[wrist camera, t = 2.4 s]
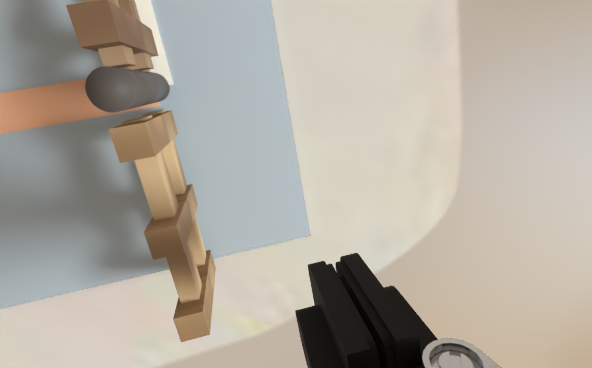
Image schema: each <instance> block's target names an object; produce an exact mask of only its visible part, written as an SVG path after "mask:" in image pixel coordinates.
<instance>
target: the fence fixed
mask: <svg viewBox="0 0 592 368" xmlns="http://www.w3.org/2000/svg"><path fill="white" fill-rule="evenodd" d="M82 2H83V3H77V4H70V5H66V7H67V10H68V13H69V16H70V18H71V21H72V24H73V27H74V30H75V33H76V36H77V39H78V42H79V45H80V47H81V48H86V49H90V50H94V51H98V52H99V54H100V57H101V60H102V63H103V66H104V67H99V68H96V69H94V70H93V71H92V72H91V73H90V74H89V75H88V77H87V79H86V83H85V90H86V94H87V96H88V98H89V100H90V101H91V102H92V104H93V105H95V106H96V107H97V108H99V109H100V110H103V111H105V112H111V113H115V112H120V111H124V110H128V109H132V108H136V107H140V106H144V105H148V104H152V103H156V102H160V101H163V100H164V99H166V98H167V96H168V94H169V91H170V87H169V84H168V82H167V80H166V79H165V78H164V77H163V76H162V75H160V74H158V73H153V72H145V71H142V70H148V69H154V67H153V63H152V60H151V57H154V56H159V55H158V52H157V48H156V44H155V41H154V37H153V34H152V30H151V29H150V28H149V27H147V26H146V25H144V24H143V23H142V22H141V21H140V17H139V14H138V10H137V7H136V3H135V0H82ZM124 67H128V69H123V68H124Z"/></svg>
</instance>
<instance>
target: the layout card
mask: <svg viewBox="0 0 592 368" xmlns="http://www.w3.org/2000/svg"><path fill="white" fill-rule="evenodd" d="M77 3H83V2H82V0H0V309H3V308H8V307H12V306H16V305H20V304H24V303H29V302H33V301H37V300H41V299H45V298H50V297H54V296H58V295H62V294H66V293H71V292H75V291H79V290H83V289H87V288H92V287H96V286H100V285H104V284H109V283H113V282H117V281H121V280H125V279H130V278H134V277H138V276H142V275H146V274H151V273H155V272H159V271H163V270H167V269H170V268H169V265H168V262H167V259H166V257H164V258H160V259H156V260H153V258H152V255H151V252H150V249H149V247H148V244H147V241H146V238H145V235H144V231H145V229H146V227H147V226H148V224H149V222H150V221H151V219H152V217H153V216H152V213H151V210H150V207H149V204H148V201H147V198H146V195H145V192H144V189H143V186H142V183H141V179H140V176H139V173H138V170H137V167H136V164H135V161H129V162H123V163H120V162H119V159H118V156H117V153H116V150H115V147H114V144H113V141H112V138H111V135H110V132H109V130H108V129H110V128H113V127H116V126H118V125H121V124H122V122H124V121H127V120H129V119H133V118H139V117H142V116H143V115H144V114H146V113H150V112H155V111H161V110H166V111H171V110H172V113H173V116H174V120H175V124H176V127H177V131H178V135H177V136H176V137H175V138H174V141H175V144H176V148H177V151H178V155H179V159H180V162H181V166H182V169H183V173H184V176H185V180H186V183H187V185H190V184H192V185H193V188H194V192H195V196H196V199H197V203H198V206H197V210H196V214H195V215H196V219H197V222H198V226H199V229H200V233H201V236H202V240H203V243H204V247H205V250H206V251H207V250H211V253H212V257H213V259H214V258H218V257H222V256H226V255H231V254H235V253H239V252H243V251H247V250H252V249H256V248H260V247H264V246H269V245H273V244H277V243H281V242H285V241H290V240H294V239H298V238H302V237H306V236H311V235H310V229H309V223H308V217H307V211H306V206H305V200H304V194H303V188H302V182H301V176H300V170H299V164H298V158H297V152H296V146H295V140H294V135H293V129H292V123H291V117H290V111H289V105H288V99H287V93H286V87H285V81H284V75H283V69H282V63H281V58H280V52H279V46H278V40H277V34H276V28H275V22H274V16H273V10H272V4H271V0H135V3H136V7H137V10H138V14H139V17H140V21H141V22H142V23H143V24H144V25H146V26H147V27H149V28H150V29H151V30H152V34H153V37H154V41H155V44H156V48H157V52H158V55H159V56H154V57H151V60H152V63H153V67H154V69H148V70H142V71H145V72H153V73H158V74H160V75H162V76H163V77H164V78H165V79H166V80H167V82H168V84H169V87H170V91H169V94H168V96H167V98H166V99H164V100H163V101H160V102H156V103H152V104H148V105H144V106H140V107H136V108H132V109H128V110H124V111H120V112H115V113H111V112H105V111H103V110H100V109H99V108H97V107H96V106H95V105H93V104H92V102H91V101H90V100H89V98H88V96H87V94H86V90H85V83H86V79H87V77H88V75H89V74H90V73H91V72H92V71H93V70H94V69H96V68H99V67H104V66H103V63H102V60H101V57H100V54H99V52H98V51H94V50H90V49H86V48H81V47H80V45H79V42H78V39H77V36H76V33H75V30H74V27H73V24H72V21H71V18H70V16H69V13H68V10H67V7H66V5H70V4H77ZM123 69H128V67H124V68H123Z"/></svg>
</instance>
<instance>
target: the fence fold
mask: <svg viewBox="0 0 592 368" xmlns="http://www.w3.org/2000/svg"><path fill="white" fill-rule="evenodd" d="M108 130H109V132H110V135H111V138H112V141H113V144H114V147H115V150H116V153H117V156H118V159H119V162H120V163H123V162H129V161H135V164H136V167H137V170H138V173H139V176H140V179H141V183H142V186H143V189H144V192H145V195H146V198H147V201H148V204H149V207H150V210H151V213H152V216H153V217H152V219H151V221H150V222H149V224H148V226H147V227H146V229H145V231H144V235H145V238H146V241H147V244H148V247H149V249H150V252H151V255H152V258H153V260H156V259H160V258H164V257H166V259H167V262H168V265H169V268H170V271H171V274H172V277H173V280H174V283H175V286H176V289H177V293H178V296H179V298H178V302H177V306H176V310H175V314H174V318H173V320H174V323H175V325H176V328H177V331H178V334H179V337H180V340H181V342H184V341H187V340H191V339H195V338H199V337H203V336H206V335H210V326H211V314H212V303H213V291H214V280H215V264H214V260H213V257H212V253H211V250H207V251H206V250H205V247H204V243H203V240H202V236H201V233H200V229H199V226H198V222H197V219H196V215H195V214H196V210H197V206H198V203H197V199H196V196H195V192H194V188H193V185H192V184H190V185H187V183H186V180H185V176H184V173H183V169H182V166H181V162H180V159H179V155H178V151H177V148H176V144H175V141H174V138H175V137H176V136H177V135H178V131H177V127H176V124H175V120H174V116H173V113H172V110H171V111H166V110H161V111H155V112H150V113H146V114H144V115H143V116H142V117H139V118H133V119H129V120H127V121H124V122H122V124H121V125H118V126H116V127H113V128H110V129H108Z"/></svg>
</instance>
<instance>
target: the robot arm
mask: <svg viewBox="0 0 592 368" xmlns="http://www.w3.org/2000/svg"><path fill="white" fill-rule="evenodd" d="M308 270H309V276H310V281H311V287H312V293H313V298H314V304H315V306H312V307H308V308H304V309H300V310H296V311H295V312H296V317H297V322H298V327H299V332H300V337H301V341H302V346H303V350H304V354H305V358H306V362H307V366H308V368H501V367H500V366H499V365H498V364H497V363H495V362H494V361H493V360H492V359H491V358H489V357H488V356H487V355H486V354H485V353H483V352H482V351H481V350H480V349H478V348H477V347H475V346H474V345H472V344H470V343H468V342H465V341H462V340H458V339H453V338H446V339H445V338H443V339H439V340H438V339H437V338H436V337H435V335H434V334H433V333H432V332H431V331H430V329H429V328H428V327H427V326H426V325H425V323H424V322H423V321H422V320H421V318H420V317H419V316H418V315H417V314H416V312H415V311H414V310H413V309H412V307H411V306H410V305H409V304H408V302H407V301H406V300H405V299H404V297H403V296H402V295H401V294H400V293H399V291H398V290H397V289H396V288H395V287H394V286H389V287H385V288H383V287H382V285H381V284H380V282H379V281H378V280H377V278H376V277H375V276H374V274H373V273H372V272H371V270H370V269H369V268H368V266H367V265H366V264H365V262H364V261H363V260H362V258H361V257H360V256H359V254H358V253H354V254H350V255H346V256H342V257H341V258H340V262H336V271H337V272H336V271H335V269H334V267H333V265H332V264H328V265H326V263H325V261H321V262H317V263H313V264H309V265H308Z"/></svg>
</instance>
